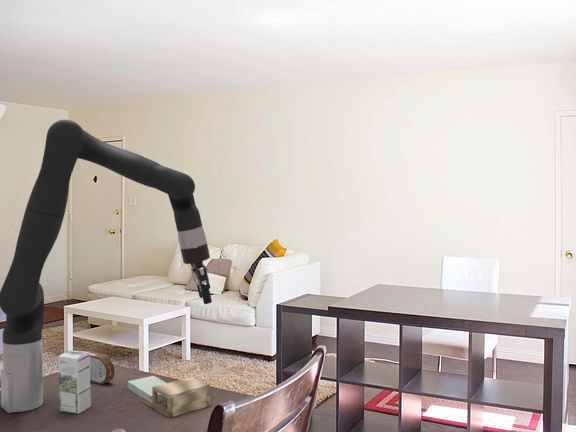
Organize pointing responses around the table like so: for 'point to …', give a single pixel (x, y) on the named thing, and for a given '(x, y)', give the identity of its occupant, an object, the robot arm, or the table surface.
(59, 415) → the table surface
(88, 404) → the syrup box
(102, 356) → the tin
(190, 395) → the beige forked block
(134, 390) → the panel
